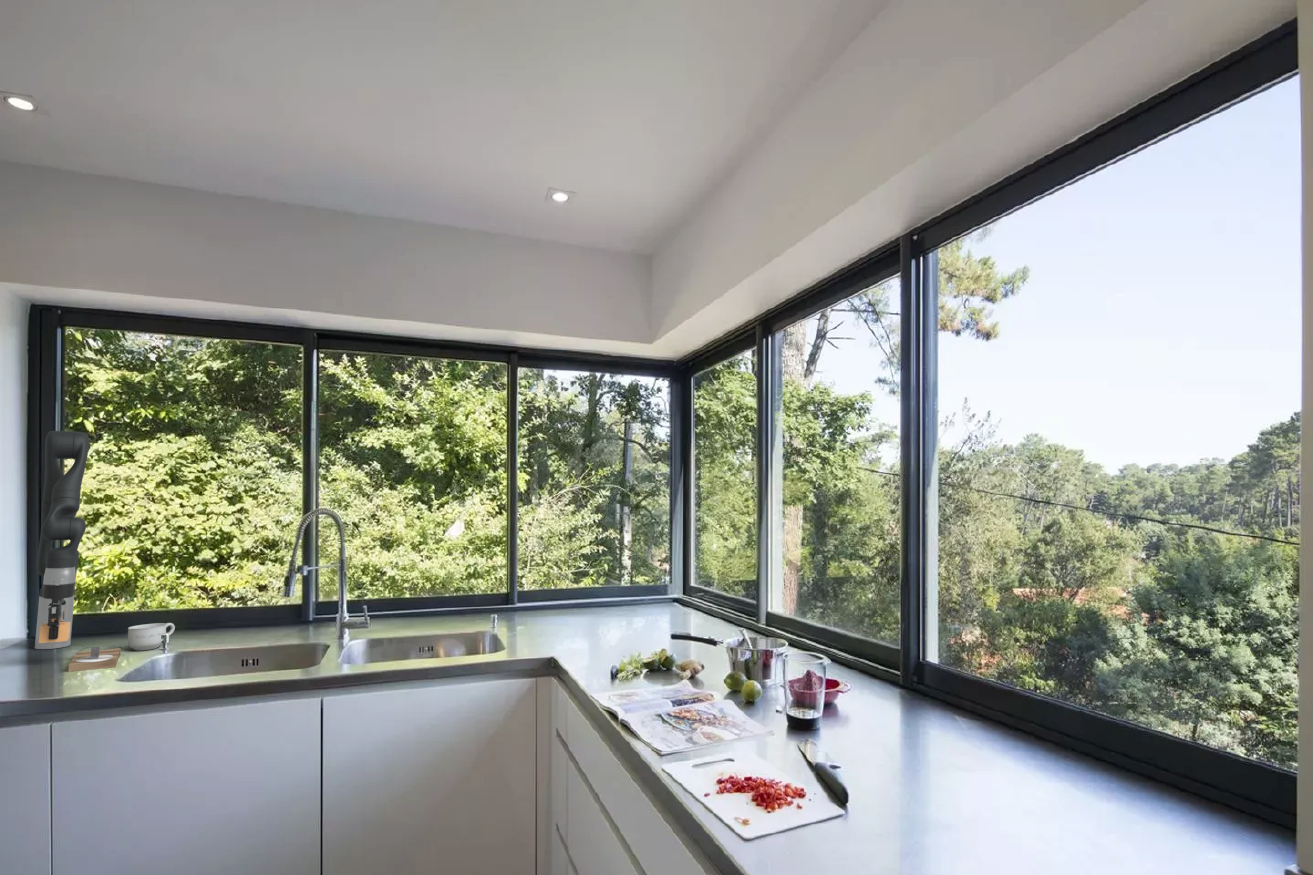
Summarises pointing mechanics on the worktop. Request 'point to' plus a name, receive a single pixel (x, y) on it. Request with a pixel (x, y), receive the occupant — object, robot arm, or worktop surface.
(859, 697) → the worktop surface
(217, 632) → the worktop surface
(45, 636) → the orange block
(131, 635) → the teacup
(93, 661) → the shaft board
